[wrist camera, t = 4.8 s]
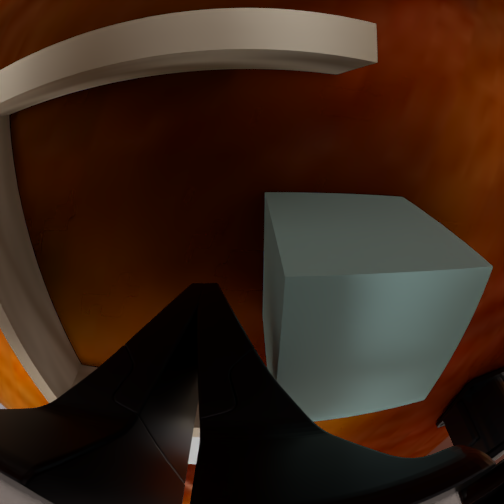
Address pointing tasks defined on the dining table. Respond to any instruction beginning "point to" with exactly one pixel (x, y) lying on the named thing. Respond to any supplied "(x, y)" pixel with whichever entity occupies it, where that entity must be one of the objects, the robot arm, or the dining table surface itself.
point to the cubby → (125, 68)
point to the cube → (362, 300)
